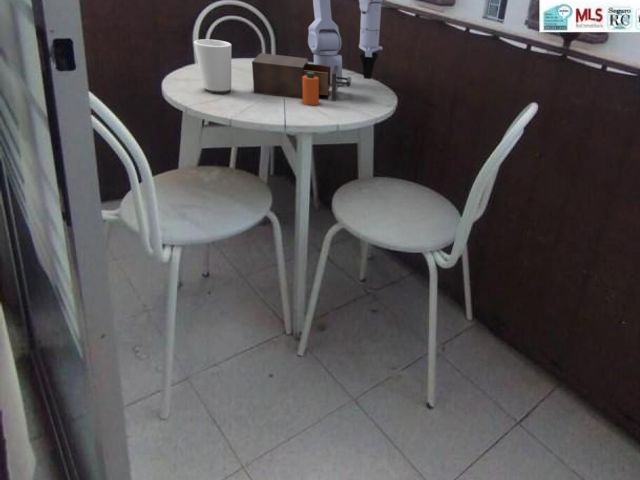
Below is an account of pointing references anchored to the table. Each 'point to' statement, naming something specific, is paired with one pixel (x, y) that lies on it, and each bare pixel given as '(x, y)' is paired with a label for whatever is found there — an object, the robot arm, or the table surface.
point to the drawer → (326, 78)
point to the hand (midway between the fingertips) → (367, 78)
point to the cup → (214, 64)
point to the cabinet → (278, 75)
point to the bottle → (310, 89)
